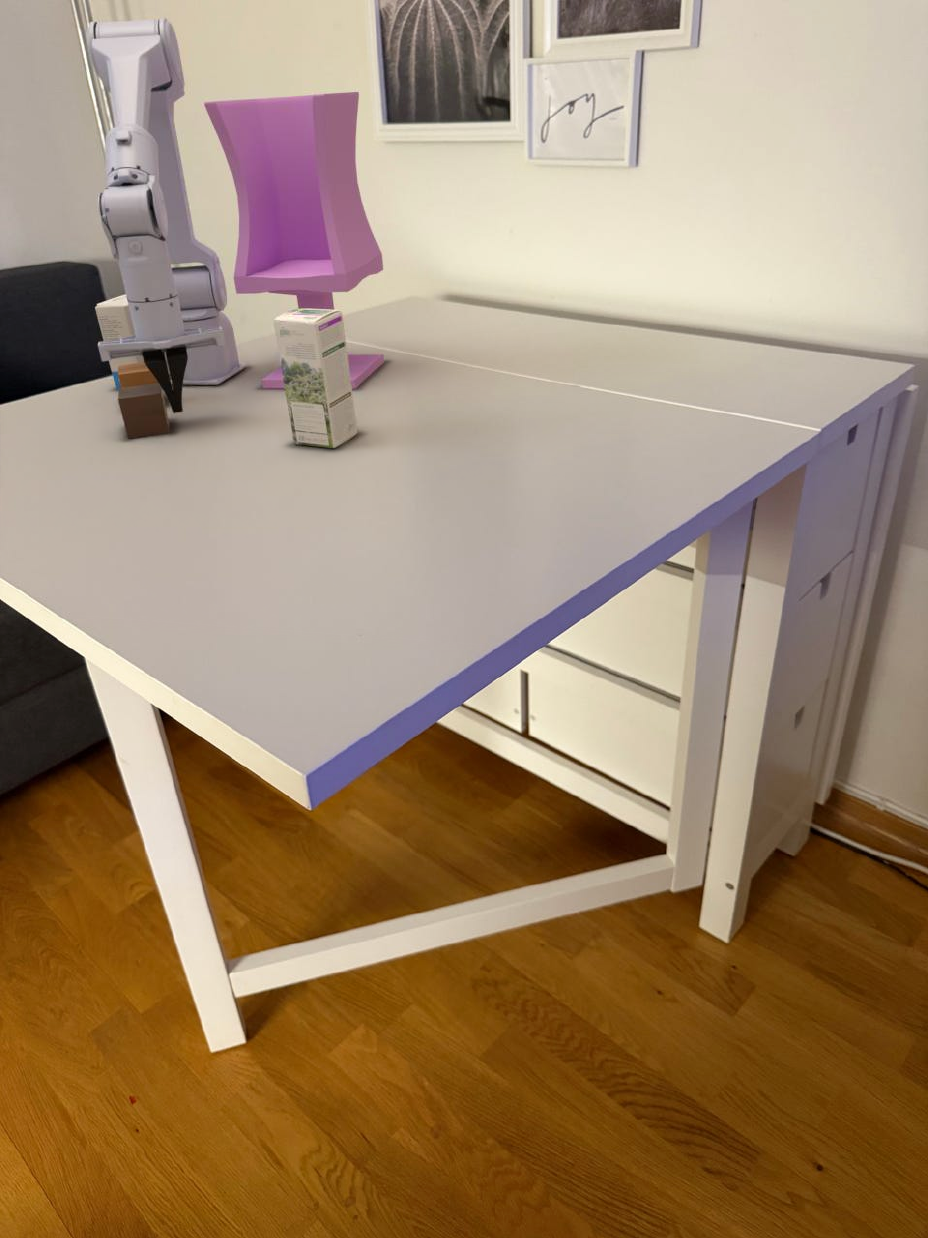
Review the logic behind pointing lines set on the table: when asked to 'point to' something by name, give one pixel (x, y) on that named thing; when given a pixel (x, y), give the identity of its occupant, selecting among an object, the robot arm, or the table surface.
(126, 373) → the oak block
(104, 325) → the ink box
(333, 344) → the syrup box
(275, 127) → the purple pedestal chair
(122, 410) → the walnut block
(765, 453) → the table surface
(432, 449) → the table surface
